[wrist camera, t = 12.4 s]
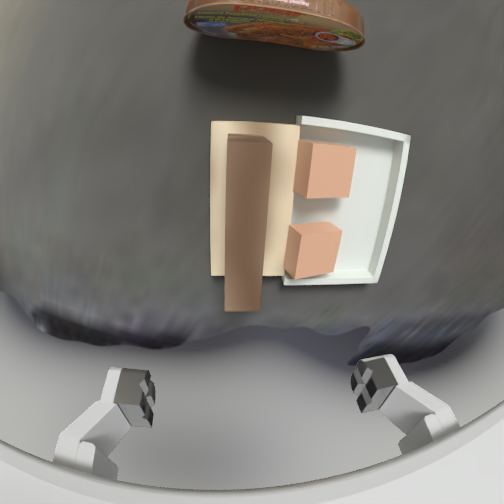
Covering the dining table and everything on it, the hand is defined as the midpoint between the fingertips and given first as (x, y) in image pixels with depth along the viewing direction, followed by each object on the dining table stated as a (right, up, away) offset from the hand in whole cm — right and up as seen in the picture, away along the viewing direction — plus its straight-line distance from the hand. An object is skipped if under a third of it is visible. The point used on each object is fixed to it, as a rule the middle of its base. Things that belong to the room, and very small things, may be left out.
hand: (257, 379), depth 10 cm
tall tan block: (-1, +9, +17) cm, 20 cm away
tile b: (+6, +6, +20) cm, 22 cm away
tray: (+10, +10, +20) cm, 24 cm away
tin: (+1, +26, +11) cm, 28 cm away
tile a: (+6, +13, +16) cm, 22 cm away
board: (0, +10, +19) cm, 21 cm away
